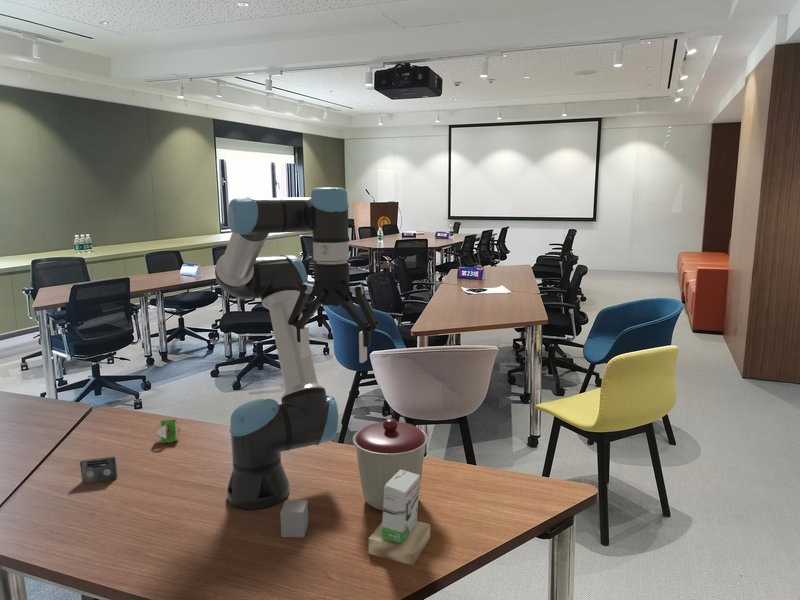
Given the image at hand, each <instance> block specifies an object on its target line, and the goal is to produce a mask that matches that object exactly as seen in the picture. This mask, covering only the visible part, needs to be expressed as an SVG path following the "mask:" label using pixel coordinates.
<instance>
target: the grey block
mask: <svg viewBox="0 0 800 600" xmlns="http://www.w3.org/2000/svg"><path fill="white" fill-rule="evenodd" d="M308 507H309V505H308V500H306V499H305V500H303V499H300V500H299V499H297V500H296V499H294V500H293V499H286V500H285V499H284V503H283V505H282V508H281V510H280V512H279V513H280V514H279V515H280V535H281V538H305V535H306V532H307V529H308V526H309V511H308V510H309V508H308Z"/></svg>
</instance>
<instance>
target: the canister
mask: <svg viewBox="0 0 800 600" xmlns="http://www.w3.org/2000/svg"><path fill="white" fill-rule="evenodd" d="M428 442H429V436H428V434H427V433H426V432H425V431H424V430H422V429H421V428H419V427H417V426H415V425H414V424H411V423H408V422H402V421H397V420H396V419H395V418H387V419H385V420H384V421H381V422H375V423H372V424H369V425H367V426H364V427H363V428H361V429H359V430H358V431H357V432H355V434H353V436H352V443H353V446H354V447H355V449H356V457H357V463H358V464H357V465H358V471H359V478H360V483H361V491H362V494H363V498H364V500H365V501H366V503H367V504H368V505H369V506H371V507H372V508H373V509H376V510H379V511H382V512H383V503H384V487H385V484H386V483H387V482H388V481H389V480H390V479H391V478H392V477H393V476H394V475H395V474H396V473H397V472H398V471H399V470H405V471H408V472H411V473H414V474H418V475H420V483H419V491H420V488H421V481H422V475H423V465H424V458H425V448H426V445H427V444H428Z"/></svg>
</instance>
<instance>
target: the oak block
mask: <svg viewBox="0 0 800 600" xmlns="http://www.w3.org/2000/svg"><path fill="white" fill-rule="evenodd" d="M430 540H431V524H430V523H427V522H423V521H420V520H417V523H416V525H415V526H414V528H413V529H412V530H411V532H410V533H409V535H408V536H407V537H406V539H405V540H404V542H403V543H402V544H401V543H397V542H394V541H390V540H387V539H384V538H382V522H381V523H380V524H379V525H378V527H376V529H375V530H374V532H372V534H370V536H369V537H368V554H370V555H374V556H377V557H381V558H383V559H388V560H392V561H396V562H400V563H404V564H407V565H411V566H414V564H415V563H416V562H417V560H418V559H419V556H420V555H421V554H422V552H423V550H424V549H425V547H426V545H427V544H428V543H429V541H430Z"/></svg>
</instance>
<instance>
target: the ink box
mask: <svg viewBox="0 0 800 600" xmlns="http://www.w3.org/2000/svg"><path fill="white" fill-rule="evenodd" d="M419 483H420V475H418V474H414V473H411V472H408V471H405V470H399V471H398V472H397V473H396V474H395V475H394V476H393V477H392V478H391V479H390V480H389V481H388V482H387V483H386V484H385V487H384V503H383V511H382V521H381V523H382V538H384V539H387V540H390V541H394V542H397V543H401V544H402V543H403V542H404V540H405V539H406V537H407V536H408V535H409V533H410V532H411V530H412V529H413V528H414V526H415V525H416V523H417V521H418V512H419V511H418V510H419V509H418V507H419V494H420V490H419ZM420 484H421V483H420Z"/></svg>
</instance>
